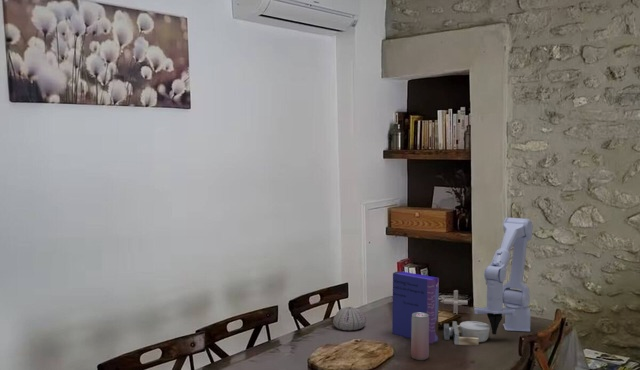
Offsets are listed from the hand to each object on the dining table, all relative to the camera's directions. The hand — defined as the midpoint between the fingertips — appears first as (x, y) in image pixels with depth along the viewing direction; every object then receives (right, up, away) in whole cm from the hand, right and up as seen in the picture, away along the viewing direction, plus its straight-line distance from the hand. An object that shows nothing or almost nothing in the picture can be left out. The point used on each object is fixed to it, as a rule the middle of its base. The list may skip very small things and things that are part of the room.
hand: (494, 333), depth 230 cm
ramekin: (-7, -3, +1) cm, 7 cm away
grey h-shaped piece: (-16, -2, +3) cm, 16 cm away
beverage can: (-31, -4, -19) cm, 36 cm away
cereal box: (-29, -2, +3) cm, 29 cm away
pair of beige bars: (-9, -2, +2) cm, 10 cm away
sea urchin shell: (-53, -2, +16) cm, 56 cm away
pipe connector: (-6, 0, +36) cm, 36 cm away
